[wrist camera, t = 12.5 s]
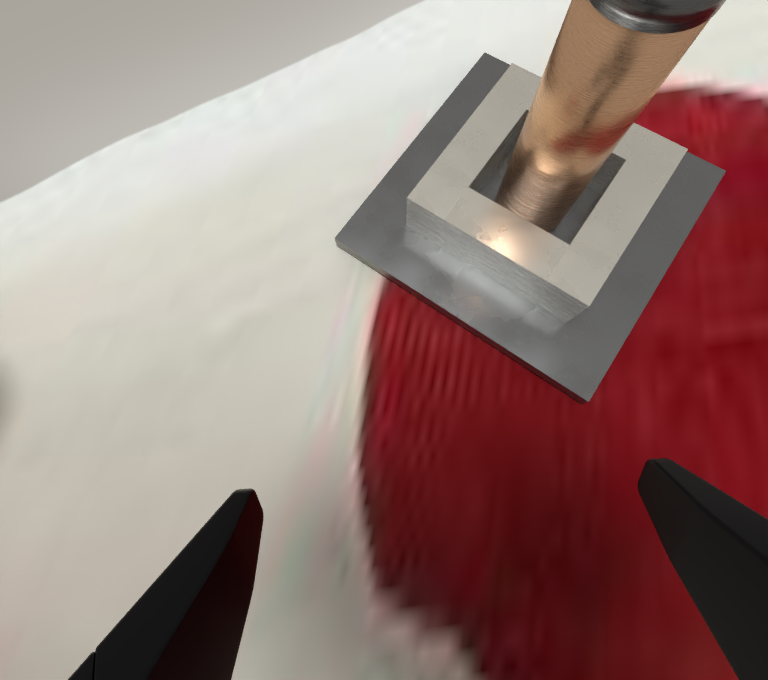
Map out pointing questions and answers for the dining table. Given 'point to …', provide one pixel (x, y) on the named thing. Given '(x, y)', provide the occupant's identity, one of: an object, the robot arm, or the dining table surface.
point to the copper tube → (594, 97)
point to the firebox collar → (529, 233)
